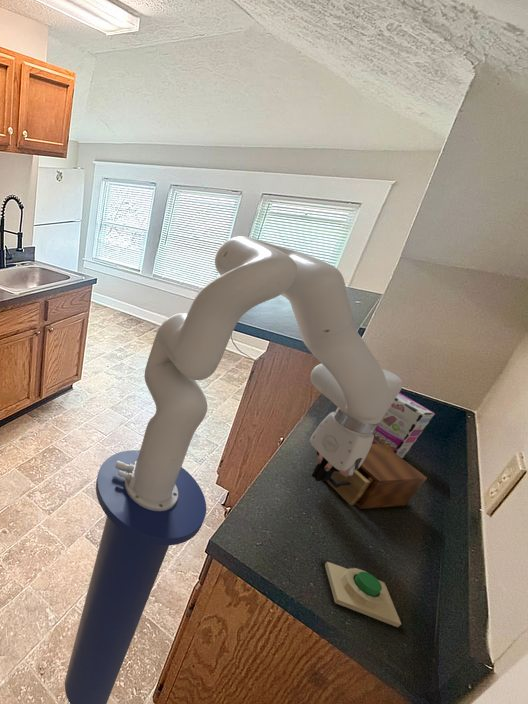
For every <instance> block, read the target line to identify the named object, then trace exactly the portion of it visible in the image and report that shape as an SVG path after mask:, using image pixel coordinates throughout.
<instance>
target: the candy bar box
mask: <svg viewBox="0 0 528 704" xmlns="http://www.w3.org/2000/svg"><path fill="white" fill-rule="evenodd" d="M435 415H436V413H435V412H434V411H432V410H430V409H428V408H427V407H425V406H423V405H421V404H420V403H418V402H416V401H415V400H413V399H411V398H409V397H408V396H406V395H404V394H402V393H401V392H399V394H398V395H397V397H396V398H395V400H394V401H393V403H392V404H391V406H390V407H389V409H388V410H387V412H386V413H385V415H384V416H383V418H382V419H381V421H380V423H379V424H378V426H377V427H376V429H375V430H374V432H373V433H372V434H373V435H374V438H373V442H372V444H380V443H383V444H384V445H385V446H387V447H388V448H389V449H391V450H392V451H393V452H394V453H396V454H397V455H398V456H400V457H401V458H402V459H404V458H405V457H406V455H407V454H408V452H409V451H410V449H411V448H412V447H413V445H414V444H415V443H416V442H417V440H418V439H419V437H420V436H421V434H423V431H424V430H425V429H426V427H427V426H428V425H429V423H430V422H431V420H432V419H433V417H435Z"/></svg>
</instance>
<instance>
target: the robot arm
mask: <svg viewBox="0 0 528 704" xmlns="http://www.w3.org/2000/svg"><path fill="white" fill-rule="evenodd" d="M214 266H215V269H216V271H217V273H218V274H219V276H217V277H216V278H215V279H213V280H212V281H210V282H209V283H207V284H205V286H203V287H202V288H201V290H199V292H198V293H197V294H196V295H195V297H194V299H193V301H192V303H191V305H190V307H189V309H188V312H179V313H175V314H173V315H171V316H169V317H168V318H166V319H165V320H164V321H163V322H162V324H161V325H160V326H159V327H158V329H157V332H156V334H155V336H154V340H153V344H152V346H151V349H150V352H149V356H148V359H147V361H146V366H145V370H144V382H145V385H146V388H147V389H148V391H149V394H150V395H151V397H152V400H153V402H154V405H155V413H154V415H153V416H152V417H151V418H150V419H149V420H148V422H147V425H146V428H145V431H144V435H143V437H142V438H143V439H142V441H141V446H140V448H139V450H140V452H139V456H138V459H137V461H135V464H134V465H133V464H130V465H128V464H125V463H124V462H121V461H118V460H117V463H116V467H115V468H117V469H120V471H119V474H118V476H121V477H124V478H125V489H126V491H127V493H128V495H129V496H130V497H131V499H132V500H133V501H134V502H136V503H137V504H138V505H140V506H142V507H144V508H146V509H149V510H153V511H165V510H168V509H170V508H172V507H173V506H174V505H175V504H176V502H177V499H178V489H177V487H176V485H175V483H176V481H177V478H178V475H179V472H180V470H181V467H182V468H183V464H184V461H185V459H186V455H187V454H188V453H187V452H188V450H189V447H190V444H191V442H192V439H193V437H194V435H195V432H196V431H197V429H198V428H199V426H200V424H202V422H203V421H204V419H205V417H206V416H207V412H208V400H207V398H206V395H205V393H204V391H203V390H202V388H201V386H200V384H199V383H198V382H197V381H203V380H206V379H208V378H210V377H211V376H212V375H213V374H214V373H215V372H216V370H217V368H218V367H219V365H220V362H221V360H222V358H223V355H224V353H225V351H226V348H227V346H228V344H229V342H230V339H231V337H232V334H233V332H234V330H235V328H236V326H237V324H238V323H239V321H240V319H241V318H242V317H243V316H244V315H245V314H246V313H247V312H249V311H250V310H251V309H253V308H254V307H255V308H256V307H257V306H259V305H260V304H263V303H266V302H268V301H270V300H272V299H276V298H277V297H279V296H282V297H283V298H285V299H286V300H288V301H289V303H290V305H291V309H292V312H293V315H294V318H295V321H296V324H297V327H298V331H299V333H300V337H301V340H302V342H303V344H304V345H305V347H306V348H307V349H308V350H309V352H310V353H311V354H312V355H313V356H314V357H315V358H316V359H317V361H318V362H319V364H317V365H316V366H314V367H313V369H312V370H311V372H310V376H309V377H310V382H311V383H312V386H313V387H314V388H315V389H316V390H317V391H318V392H320V394H322V396H324V397H326V398H327V399H328V400H330V401H331V403H333V404H334V406H335V407H336V409H335V411H331V412H330V413H328V414H327V416H325V418H323V420H321V422H320V423H319V425H318V426H317V427H316V428H315V430H314V431H313V433H312V434H311V436H310V439H309V444H310V445H311V446H312V448H313V449H314V450H315V451H316V455H317V458H316V462H317V464H316V466H315V468H314V469H313V472H312V474H311V477H312V478H314V480H315V481H316V482H323V481H324V482H327V480H329V479H330V477H331V475H332V474H333V472H334V471H336V472H340V473H341V474H342V475H344V476H345V477H352V476H353V472H354V470H357V469H358V468H359V467H360V466H361V465H362V463H363V461H364V460H365V458H366V456H367V454H368V452H369V450H370V447H371V445H372V442H373V438H374V435H373V434H372V433H373V432H374V430H375V429H376V427H377V426H378V424H379V423H380V421H381V419H382V418H383V416H384V415H385V413H386V412H387V410H388V409H389V407H390V406H391V404H392V403H393V401H394V400H395V398H396V397H397V395H398V394H399V393H401V391H402V388H403V387H404V383H403V380H402V379H401V378H400V377H399V376H398V375H397V374H395V373H394V372H391V371H389V370H388V369H384V368H382V366H381V364H380V363H379V362H378V360H377V358H376V357H375V355H374V354H373V353H372V351H371V350H370V348H369V346H368V345H367V343H366V341H365V340H364V339H363V338H362V336H361V335H360V333H359V332H358V330H357V329H356V326H355V321H354V317H353V316H354V315H353V313H352V308H351V304H350V300H349V296H348V295H349V294H348V291H347V286H346V282H345V279H344V277H343V274H342V273H341V271H340V270H339V269H338V268H337V267H335V266H334V265H332V264H330V263H329V262H326V261H324V260H321V259H319V258H316V257H314V256H312V255H308V254H306V253H304V252H301V251H297V250H294V249H290V248H286V247H282V246H279V245H275V244H273V243H269V242H266V241H263V240H260V239H256V238H253V237H250V236H245V235H238V236H234V237H231V238H229V239H227V240H225V241H224V242H223V243H221V245H220V246H219V247H218V249H217V250H216V253H215V256H214ZM121 470H124V471H127V472H128V473H126V472H124V471H121Z"/></svg>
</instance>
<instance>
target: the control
mask: <svg viewBox="0 0 528 704" xmlns="http://www.w3.org/2000/svg"><path fill="white" fill-rule="evenodd" d="M324 568H325V572H326V575H327V579H328V582H329V586H330V589H331V593H332V598H333V600H334V603H335V604H336V605H339V606H341V607H344V608H347V609H349V610H351V611H354V612H357V613H360V614H363V615H365V616H368V617H370V618H372V619H375V620H377V621H380V622H383V623H385V624H388V625H391V626H393V627H396V628H399V627H400V626H402V622H401V619H400V616H399V615H398V612H397V610H396V607H395V605H394V602H393V599H392V597H391V595H390V592H389V590H388V587H387V585H386V583H385V582H384V581H382V580H379V579H377V580H378V581H379V582H380V584H381V586H382V590H381V591H380V592H379V593H378V594H377V595H376V596H369V595H367V594H365V593H364V592H362V591H361V590H360V589H359V588H358V587H357V586H356V584H355V581H354V579H355V577H356V576H357V575H358V574H359V573H360V572H367V571H365V570H363V569H361V568H357V567H351V568H346V567H344V566H341V565H338V564H335V563H332V562H329V561H326V562H325V563H324Z"/></svg>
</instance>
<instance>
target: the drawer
mask: <svg viewBox="0 0 528 704" xmlns="http://www.w3.org/2000/svg"><path fill="white" fill-rule="evenodd" d="M374 482H375V480H374V479H373V478H372V477H370V476H369V475H368V474H367V473H366V472H365V471H364V470H363V469H361V468H360V467H359V468H358V469H357V470H354V472H353V476H352V477H345V476H344V475H342V474H341V473H340V472H336V471H334V472H333V474H332V475H331V477H330V479H329V480H327V481H326V483H328V484H329V485H330V486H331V487H332V488H333V489H334V490H335V492H337V494H338V495H340V497H342V499H344V500H345V502H347V504H348V505H350V506H354V505H355V503H356V501H361V500H362V498H363V497H364V496H365V494H366V493H367V491H368V490H369V489H370V487H371V486H372V484H373V483H374Z"/></svg>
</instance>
